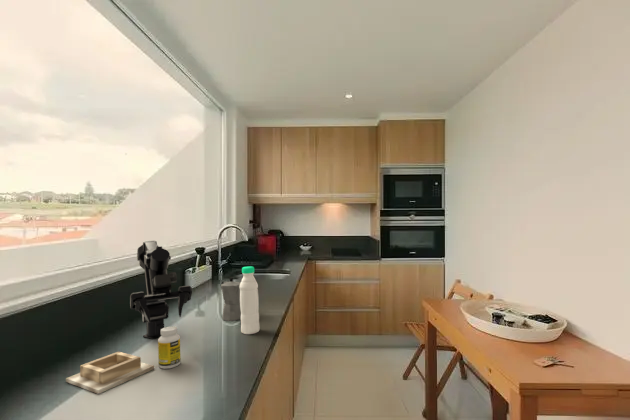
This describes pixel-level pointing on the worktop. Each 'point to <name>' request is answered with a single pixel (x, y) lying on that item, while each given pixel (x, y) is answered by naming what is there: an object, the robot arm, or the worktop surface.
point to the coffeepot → (231, 300)
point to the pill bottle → (169, 348)
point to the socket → (109, 372)
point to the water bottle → (249, 302)
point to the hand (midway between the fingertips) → (165, 318)
